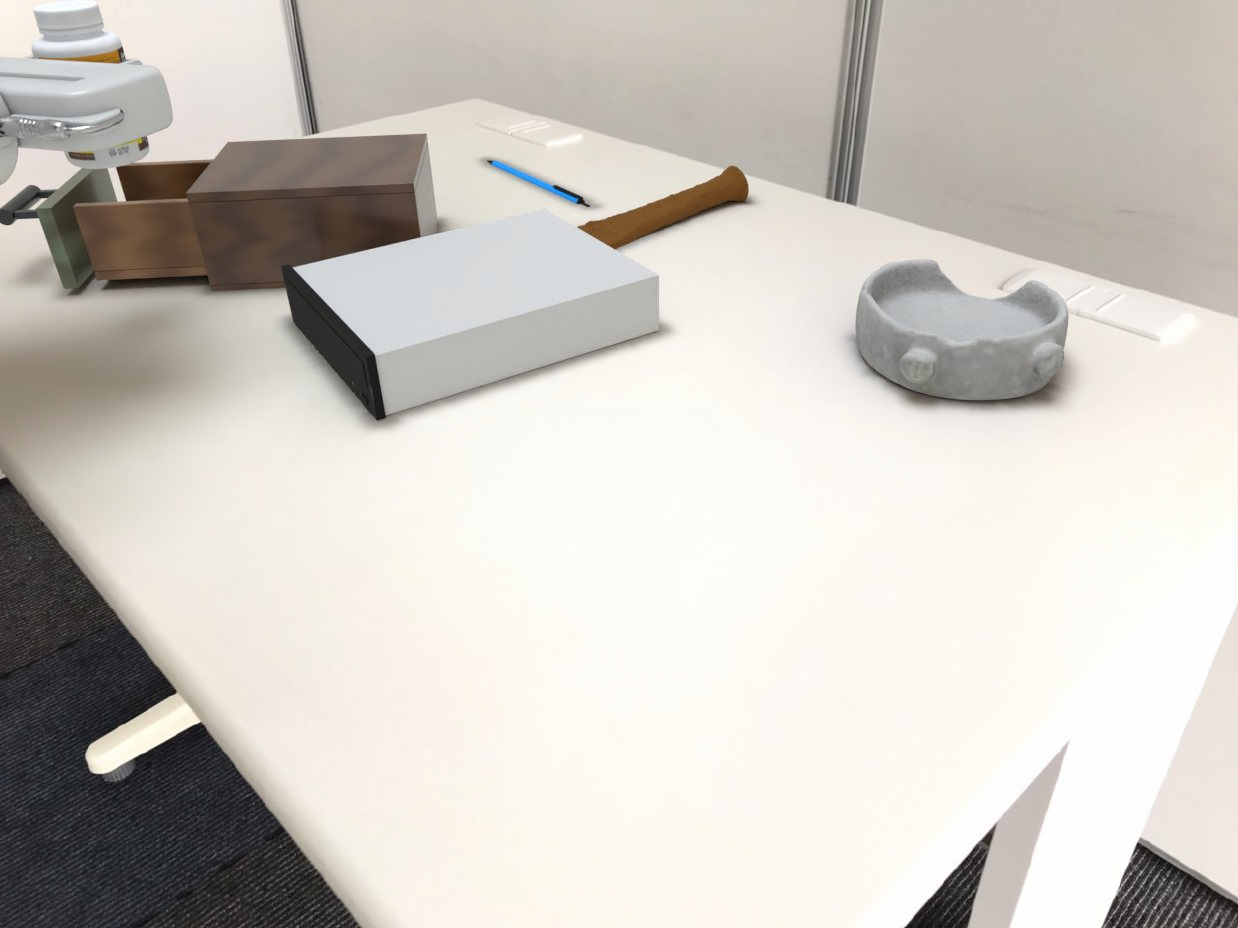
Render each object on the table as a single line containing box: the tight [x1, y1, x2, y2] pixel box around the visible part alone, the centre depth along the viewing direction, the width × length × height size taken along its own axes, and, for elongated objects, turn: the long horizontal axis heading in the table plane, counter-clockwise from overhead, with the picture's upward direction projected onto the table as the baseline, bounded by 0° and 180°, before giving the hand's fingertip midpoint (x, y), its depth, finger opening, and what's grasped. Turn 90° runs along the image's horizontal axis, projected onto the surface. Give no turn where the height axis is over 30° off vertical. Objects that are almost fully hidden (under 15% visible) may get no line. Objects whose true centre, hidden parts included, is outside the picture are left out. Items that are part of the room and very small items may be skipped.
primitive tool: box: [576, 165, 750, 250], centre depth 94 cm, size 19×6×4 cm, turn 130°
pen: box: [486, 159, 591, 208], centre depth 104 cm, size 1×19×1 cm, turn 38°
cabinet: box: [186, 133, 439, 292], centre depth 87 cm, size 18×14×9 cm
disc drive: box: [281, 208, 660, 421], centre depth 75 cm, size 18×22×5 cm
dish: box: [855, 258, 1070, 401], centre depth 70 cm, size 14×14×5 cm
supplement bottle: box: [31, 0, 150, 169], centre depth 69 cm, size 6×6×10 cm
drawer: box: [0, 158, 214, 290], centre depth 86 cm, size 21×12×7 cm, turn 95°
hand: (93, 69), depth 70 cm, fingers closed on supplement bottle, 5 cm apart
